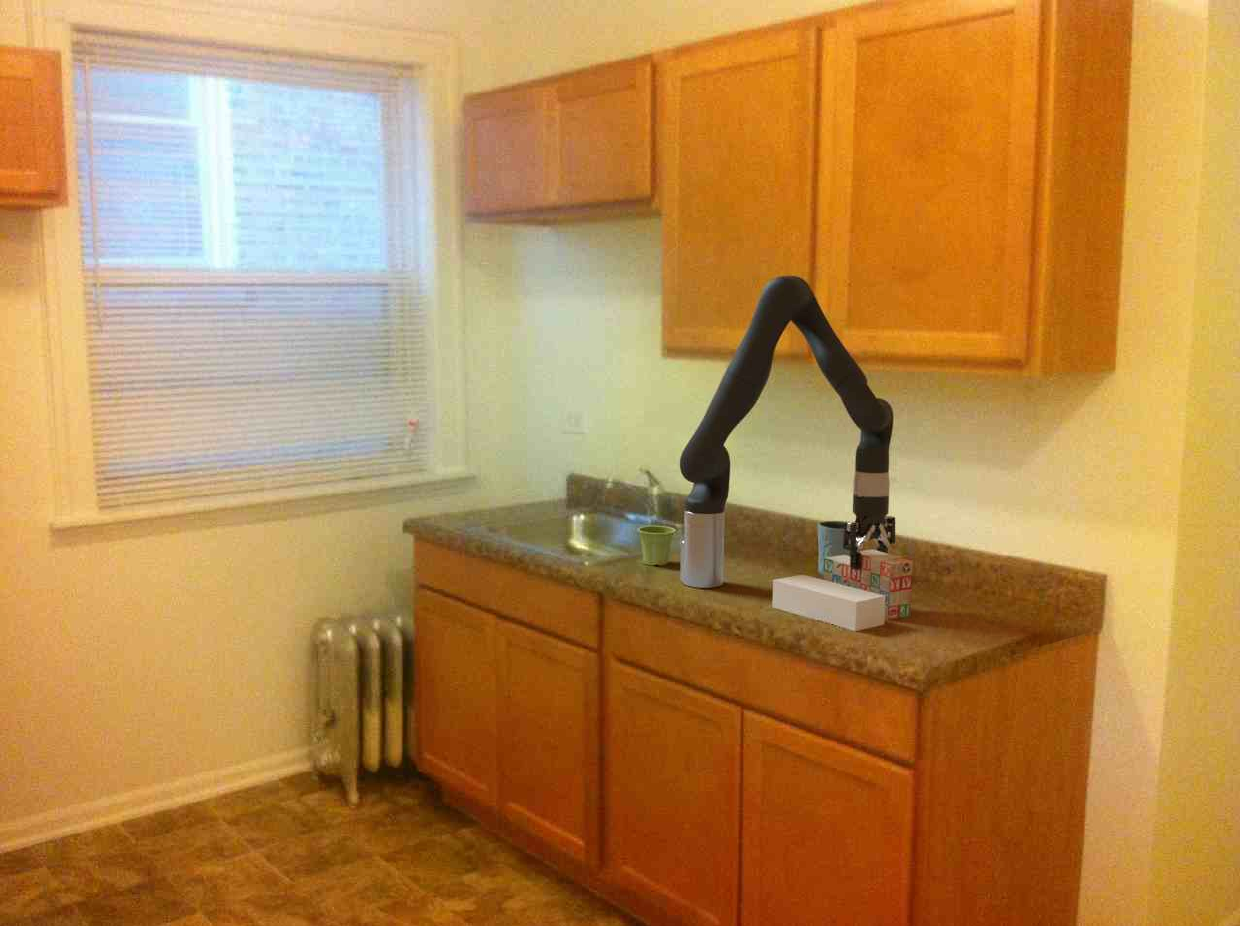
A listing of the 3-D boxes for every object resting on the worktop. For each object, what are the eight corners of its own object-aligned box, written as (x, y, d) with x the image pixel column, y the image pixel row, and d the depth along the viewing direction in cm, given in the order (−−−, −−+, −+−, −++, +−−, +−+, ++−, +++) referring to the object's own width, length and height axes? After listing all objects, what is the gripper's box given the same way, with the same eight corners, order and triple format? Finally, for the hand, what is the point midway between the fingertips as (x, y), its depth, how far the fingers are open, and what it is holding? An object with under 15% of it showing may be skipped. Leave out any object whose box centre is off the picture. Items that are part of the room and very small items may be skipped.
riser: (772, 607, 251) (773, 579, 251) (801, 601, 257) (802, 574, 256) (855, 631, 234) (856, 602, 233) (884, 624, 239) (885, 595, 238)
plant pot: (682, 563, 293) (682, 529, 292) (658, 569, 286) (659, 534, 285) (653, 557, 299) (653, 524, 298) (629, 563, 292) (630, 529, 291)
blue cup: (826, 566, 292) (828, 519, 291) (864, 572, 287) (866, 523, 285) (808, 573, 284) (810, 524, 283) (847, 579, 278) (849, 530, 277)
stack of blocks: (821, 597, 261) (823, 543, 259) (843, 594, 264) (845, 541, 262) (888, 620, 243) (890, 562, 241) (910, 617, 246) (913, 559, 244)
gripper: (879, 487, 257) (876, 559, 259) (835, 493, 248) (833, 568, 250) (906, 491, 251) (903, 565, 253) (862, 497, 242) (860, 574, 244)
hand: (868, 566), depth 252 cm, fingers open, 8 cm apart
